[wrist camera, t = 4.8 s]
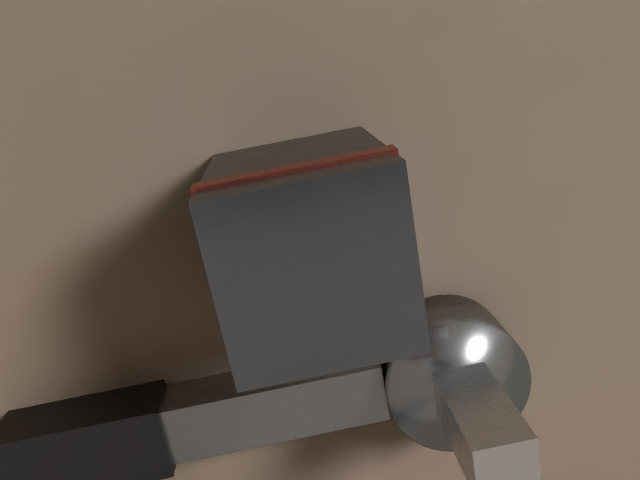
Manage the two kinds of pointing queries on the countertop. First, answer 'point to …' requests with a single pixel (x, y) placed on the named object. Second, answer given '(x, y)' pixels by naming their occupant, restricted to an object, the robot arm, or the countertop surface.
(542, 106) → the countertop surface
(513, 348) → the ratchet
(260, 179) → the red-striped grey cube
